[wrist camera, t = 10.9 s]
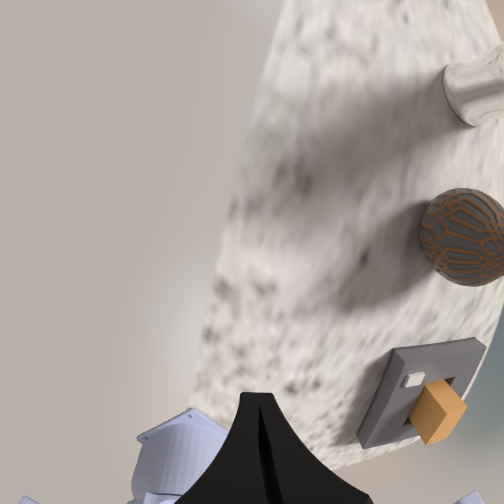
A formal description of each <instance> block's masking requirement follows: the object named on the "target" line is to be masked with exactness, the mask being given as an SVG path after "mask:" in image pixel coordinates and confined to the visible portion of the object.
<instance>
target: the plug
mask: <svg viewBox="0 0 504 504" xmlns="http://www.w3.org/2000/svg"><path fill="white" fill-rule="evenodd" d="M466 408H467V405H466V404H465V403H464V402H463V401H462V400H461V398H460V397H459V396H458V395H457V394H456V393H455V392H454V390H453V389H452V388H451V387H450V386H449V385H448V384H447V382H446V381H445V380H439V381H435V382H431V383H426V384H425V385H424V387H423V389H422V391H421V393H420V395H419V397H418V399H417V401H416V402H415V404H414V406H413V408H412V410H411V412H410V413H409V415H408V417H409V419H410V421H411V422H412V424H413V425H414V427H415V429H416V430H417V432H418V433H419V435H420V437H421V438H422V440H423V441H424V443H425V445H428V444H431V443H434V442H436V441H439V440H442V439H444V438H447V436H448V435H449V434H450V432H451V431H452V429H453V428H454V426H455V425H456V423H457V422H458V420H459V419H460V417H461V416H462V414H463V413H464V411H465V409H466Z"/></svg>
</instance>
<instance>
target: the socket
mask: <svg viewBox="0 0 504 504" xmlns="http://www.w3.org/2000/svg"><path fill="white" fill-rule="evenodd" d="M486 348H487V347H486V346H485V345H483V344H482V343H481V342H480V341H478V340H477V339H476V338H475V337H472V338H467V339H461V340H455V341H449V342H442V343H435V344H427V345H419V346H410V347H400V348H393V351H392V354H391V356H390V359H389V362H388V364H387V367H386V370H385V372H384V375H383V377H382V380H381V382H380V385H379V387H378V389H377V392H376V394H375V396H374V399H373V401H372V403H371V405H370V407H369V410H368V412H367V414H366V416H365V418H364V420H363V422H362V424H361V426H360V428H359V430H358V432H357V437H358V439H359V442H360V444H361V446H362V449H366V448H371V447H376V446H380V445H385V444H389V443H393V442H397V441H401V440H404V439H408V438H411V437H415V436H418V435H419V433H418V432H417V430H416V429H415V427H414V425H413V424H412V422H411V421H410V419H409V417H408V415H409V413H410V412H411V410H412V408H413V406H414V404H415V402H416V401H417V399H418V397H419V395H420V393H421V391H422V389H423V387H424V385H425V384H426V383H431V382H435V381H439V380H445V381H446V382H447V384H448V385H449V386H450V387H451V388H452V389H453V390H454V392H455V393H456V394H457V395H458V396H459V397H460V398H462V396H463V394H464V392H465V391H466V389H467V387H468V385H469V383H470V381H471V379H472V377H473V375H474V373H475V371H476V369H477V367H478V365H479V363H480V361H481V359H482V357H483V354H484V352H485V350H486Z"/></svg>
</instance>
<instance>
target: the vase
mask: <svg viewBox="0 0 504 504" xmlns="http://www.w3.org/2000/svg"><path fill="white" fill-rule="evenodd" d="M420 239H421V246H422V249H423V252H424V254H425V256H426V258H427V260H428V262H429V263H430V264H431V266H432V267H433V268H434V269H435V270H436V271H437V272H438V273H439V274H440V275H441V276H443V277H444V278H446V279H447V280H449V281H451V282H453V283H455V284H459V285H463V286H470V287H476V286H482V285H486V284H488V283H490V282H492V281H494V280H496V279H498V278H500V277H502V276H504V209H503V207H502V206H501V205H500V204H499V203H498V202H497V201H496V200H495V199H493V198H492V197H491V196H489V195H487V194H485V193H483V192H481V191H478V190H475V189H469V188H456V189H452V190H448V191H446V192H444V193H442V194H440V195H438V196H437V197H436V198H434V199H433V200H432V202H431V203H430V204H429V206H428V207H427V209H426V210H425V212H424V215H423V218H422V221H421V226H420Z"/></svg>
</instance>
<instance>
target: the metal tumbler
mask: <svg viewBox="0 0 504 504" xmlns="http://www.w3.org/2000/svg"><path fill="white" fill-rule="evenodd" d="M443 86H444V91H445V94H446V97H447V99H448V101H449V104H450V105H451V107H452V109H453V110H454V112H455V113H456V114H457V116H458V117H459V118H460V119H461V120H462V121H464V122H465V123H466V124H468V125H471V126H480V125H482V124H485V123H487V122H489V121H492V120H495V119H499V118H504V41H503V42H501V43H500V44H498V45H497V46H496V47H494V48H493V49H491V50H490V51H489V52H487V53H486V54H484V55H483V56H481V57H479V58H477V59H475V60H472V61H468V62H460V63H454V64H450V65H449V66H447V67H446V69H445V70H444V73H443Z"/></svg>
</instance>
